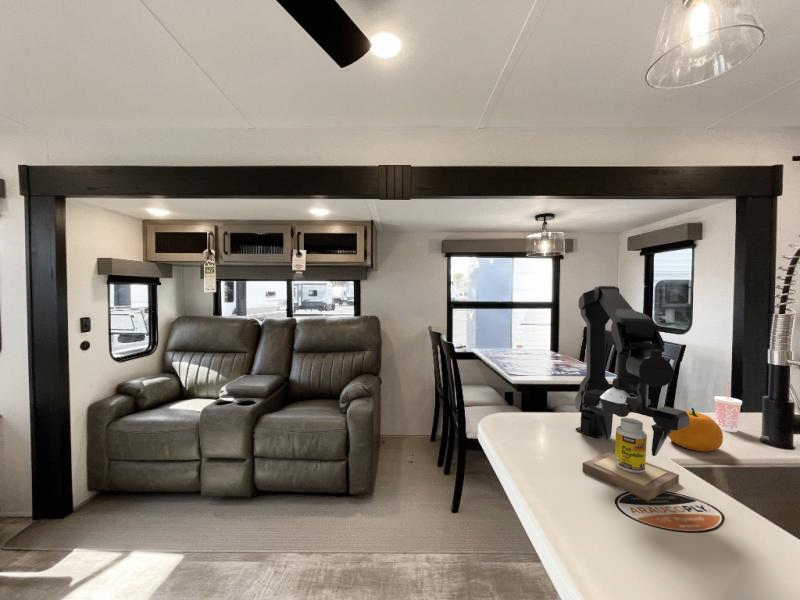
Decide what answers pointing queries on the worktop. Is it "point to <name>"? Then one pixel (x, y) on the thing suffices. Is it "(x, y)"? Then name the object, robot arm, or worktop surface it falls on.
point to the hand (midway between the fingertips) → (630, 446)
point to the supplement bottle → (630, 445)
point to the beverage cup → (727, 412)
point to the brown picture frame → (632, 476)
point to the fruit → (698, 433)
